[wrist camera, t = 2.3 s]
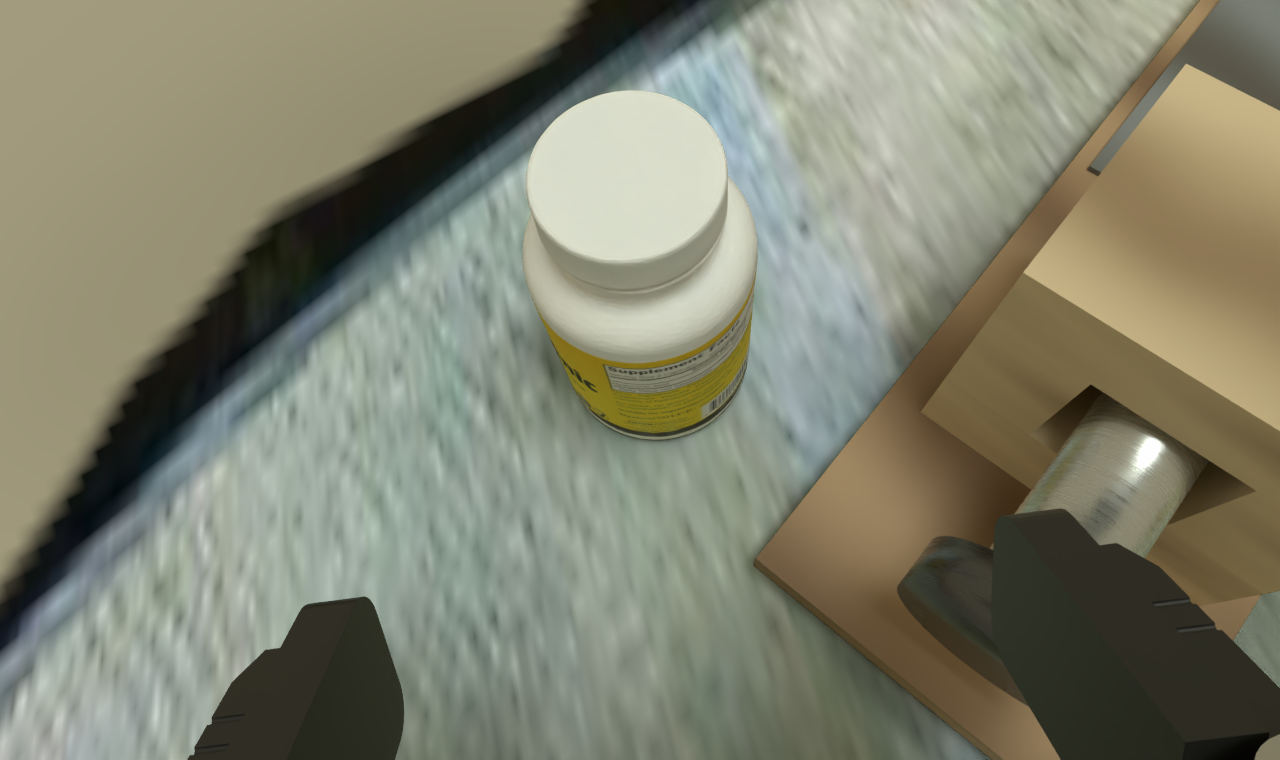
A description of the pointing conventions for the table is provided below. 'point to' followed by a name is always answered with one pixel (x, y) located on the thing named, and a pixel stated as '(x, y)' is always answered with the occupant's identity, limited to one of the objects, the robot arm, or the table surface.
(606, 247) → the supplement bottle
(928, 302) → the table surface
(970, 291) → the shaft bench
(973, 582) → the shaft
